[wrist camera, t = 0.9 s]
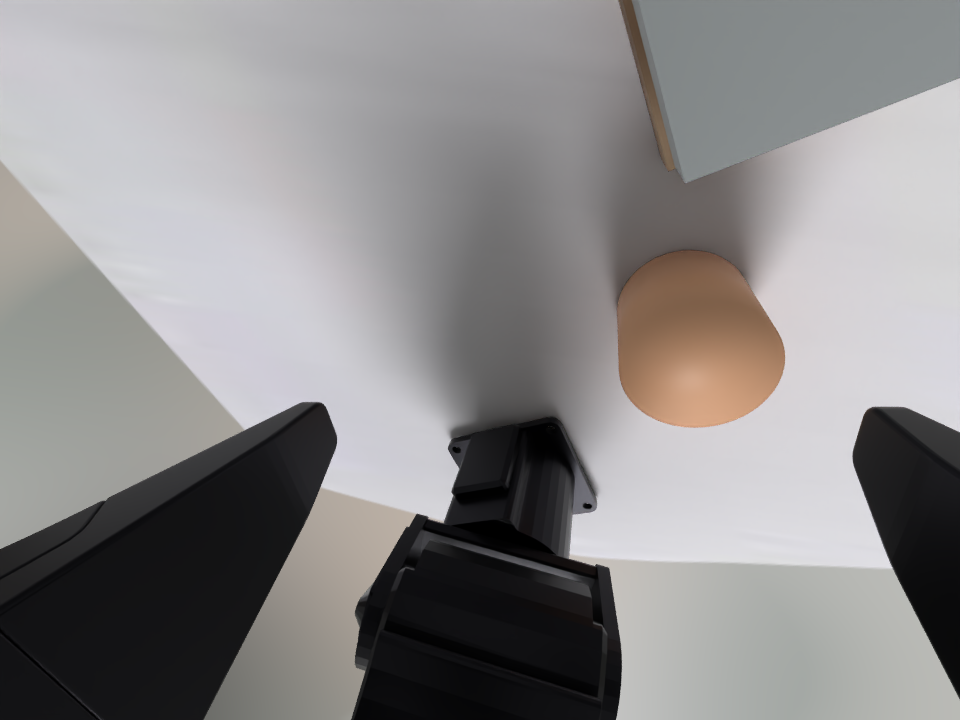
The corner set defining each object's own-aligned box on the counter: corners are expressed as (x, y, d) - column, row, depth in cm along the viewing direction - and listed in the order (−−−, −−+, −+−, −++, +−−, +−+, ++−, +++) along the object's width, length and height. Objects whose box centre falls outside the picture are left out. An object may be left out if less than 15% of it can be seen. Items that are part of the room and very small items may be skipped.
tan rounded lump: (760, 343, 19) (796, 410, 15) (636, 373, 21) (642, 438, 17) (735, 230, 17) (769, 276, 13) (601, 275, 19) (599, 326, 15)
